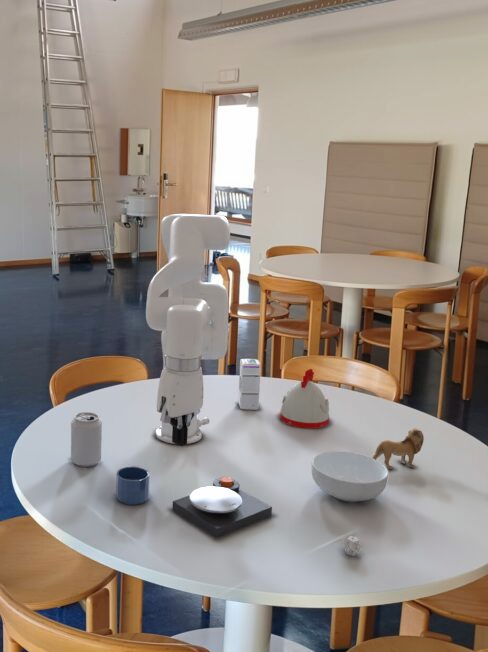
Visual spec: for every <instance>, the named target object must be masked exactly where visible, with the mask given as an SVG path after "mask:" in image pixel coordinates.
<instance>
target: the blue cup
mask: <svg viewBox="0 0 488 652" xmlns="http://www.w3.org/2000/svg"><path fill="white" fill-rule="evenodd" d="M150 476H151V473H150V472H149V470H148V469H146V468H144V467H140V466H125V467H121V468H120V469H118V470H117V471H116V475H115V477H116V479H115V483H116V484H115V497H116V499H117V501H119V502H120V503H121V504H125V505H128V506H139V505H142V504H144V503H145V502H146V501H148V500H149V497H150V480H151V479H150V478H151V477H150Z"/></svg>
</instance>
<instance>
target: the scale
mask: <svg viewBox="0 0 488 652" xmlns="http://www.w3.org/2000/svg"><path fill="white" fill-rule="evenodd" d="M221 478H222V477H219V478H217V479H216V478H215V479H214V481H213V483H212V487H222V488H227V489H230V490H232V491H234V492H236V493H237V494H239V495H240V497H241V499H242V504H241V506H240V507H239V508H238V509H237V510H235V511H232V512H227V513H212V512H207V511H203V510H201V509H198V508H196V507H195V506H194V505H193V504H192V503H191V502H190V494H189V495H187V496H184V497H181V498H177V499H175V500H172V509H171V510H172V511H174V512H175V513H177V514H178V515H180V516H181V517H183V518H185V519H186V520H187V521H189V522H191V523H192V524H194V525H196V526H197V527H199V528H200V529H202V530H204V531H205V532H207V533H208V534H210V535H212V536H213V537H215V538H216V539H217V538H220V537H222V536H225V535H227V534H230V533H232V532H235V531H237V530H240V529H242V528H245V527H247V526H250V525H251V524H255V523H257V522H259V521H262V520H264V519H267V518H268V517H272V515H273V514H272V513H273V512H272V511H273V506H271V505H269V504H267V503H266V502H264V501H262V500H260V499H258V498H256V497H254V496H253V495H251V494H250V493H247V492H245V491H243V490H242V489H240V487H241V484H240V483H239V480H238V481H237V480H236V479H234V478H232V479H233V486H231V487H224V486H221V485H220V479H221Z"/></svg>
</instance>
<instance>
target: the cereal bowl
mask: <svg viewBox="0 0 488 652" xmlns="http://www.w3.org/2000/svg"><path fill="white" fill-rule="evenodd" d="M311 476H312V480H313V481H314V483H315V484H316V485H317V487H318V488H319V489H320V490H322V491H323V492H324V493H326V494H328V495H329V496H331V497H333V498H335V499H337V500H339V501H344V502H348V503H349V502H350V503H357V502H361V501H362V502H364V501H369V500H372V499H375V498H376V497H378V496H380V495H381V494H382V493H383V492H384V490H385V489H386V486H387V483H388V480H389V469H388V468H387V466H386V465H384V464H383V463H382V462H380V461H379V460H378V459H376V460H375V459H373V457H371V456H367V455H364V454H361V453H356V452H352V451H344V450H330V451H324V452H321V453H318V454H316V455H315V456H314V457H313V458H312V461H311Z"/></svg>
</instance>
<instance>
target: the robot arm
mask: <svg viewBox="0 0 488 652" xmlns="http://www.w3.org/2000/svg"><path fill="white" fill-rule="evenodd" d="M160 235H161V241H162V245H163V249H164V252H165V254H166V257H167V261H168V263H166V264H165V265H163V267H161V268H159V270H158V271H157V272H156V273H155V275H154V276H153V277H152V279H150V282H149V284H148V288H147V295H146V304H145V320H146V321H145V322H146V324H147V326H148V327H149V328H150V329H152V330H154V331H157V332H159V331H160V332H161V334H160V335H161V336H160V340H161V341H160V342H161V350H162V351H161V352H162V362H163V364H162V367H163V368H162V370H161V373H160V377H159V381H158V388H157V396H156V412H157V413H161V414H160V417H159V418H160V422H161V425H160V426H158V427H157V428H156V429H155V437H156V438H157V439H158V440H160V441H162V442H165V443H167V444H173V445H177V446H179V447H183V446H187V445H189V444H194V443H196V442H198V441H201V439H202V438H203V437H202V436H203V433H202V432H203V431H202V430H201V429H200V428H201V427H202V426H206V425H209V424H210V418H209V417H208V416H205V417H204V416H203V417H201V418H200V417H199V416H198V415H200V413H201V409H202V408H203V406H204V376H203V370H202V367H201V363H202V362H201V361H202V360H210V361H211V360H214V361H217V360H222V359H223V358H225V356H226V354H227V351H228V343H229V309H230V308H229V305H230V304H229V293H228V290H227V288H226V286H225V285H224V284H222V283H219V282H205V281H204V282H203V281H202V274H203V273H204V270H205V251H225V250H226V249H227V248H228V246H229V244H230V240H231V227H230V222H229V220H228V219H227V217H225V216H224V215H220V214H219V215H216V214H213V215H212V214H194V213H175V214H168V215H166V216H165V217H163V218H162V219H161V222H160ZM167 290H168V295H167V296H161V295H162V294H163V293H164V292H167ZM210 322H211V323H210Z"/></svg>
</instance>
